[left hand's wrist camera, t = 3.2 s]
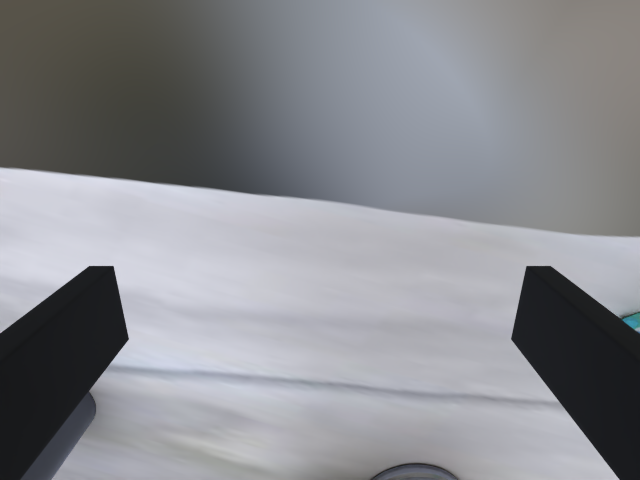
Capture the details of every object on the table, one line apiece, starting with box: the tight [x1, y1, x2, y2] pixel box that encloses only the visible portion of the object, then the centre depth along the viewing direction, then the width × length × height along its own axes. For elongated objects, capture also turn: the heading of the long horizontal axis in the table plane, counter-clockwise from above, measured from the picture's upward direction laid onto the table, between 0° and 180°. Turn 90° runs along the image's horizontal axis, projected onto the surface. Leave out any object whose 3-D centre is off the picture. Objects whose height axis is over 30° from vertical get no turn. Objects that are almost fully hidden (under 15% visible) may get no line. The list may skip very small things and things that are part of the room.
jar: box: [20, 392, 96, 480], centre depth 42 cm, size 9×9×16 cm
